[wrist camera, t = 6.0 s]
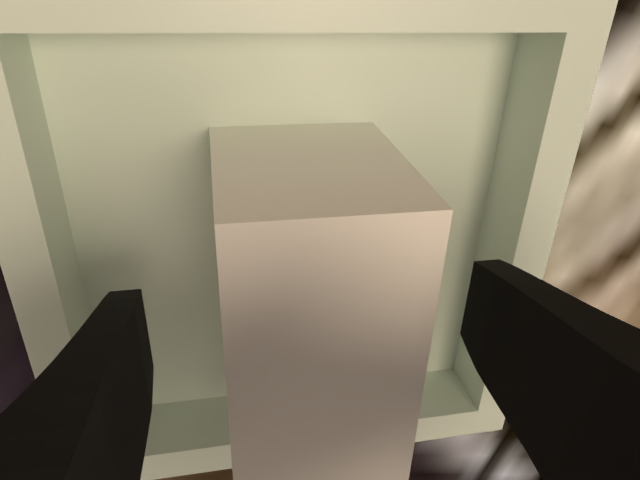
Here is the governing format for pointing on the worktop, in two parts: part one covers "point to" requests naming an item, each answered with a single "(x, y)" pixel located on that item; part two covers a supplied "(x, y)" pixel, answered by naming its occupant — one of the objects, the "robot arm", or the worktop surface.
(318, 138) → the tall beige upright block
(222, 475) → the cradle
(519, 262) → the tray
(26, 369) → the worktop surface
